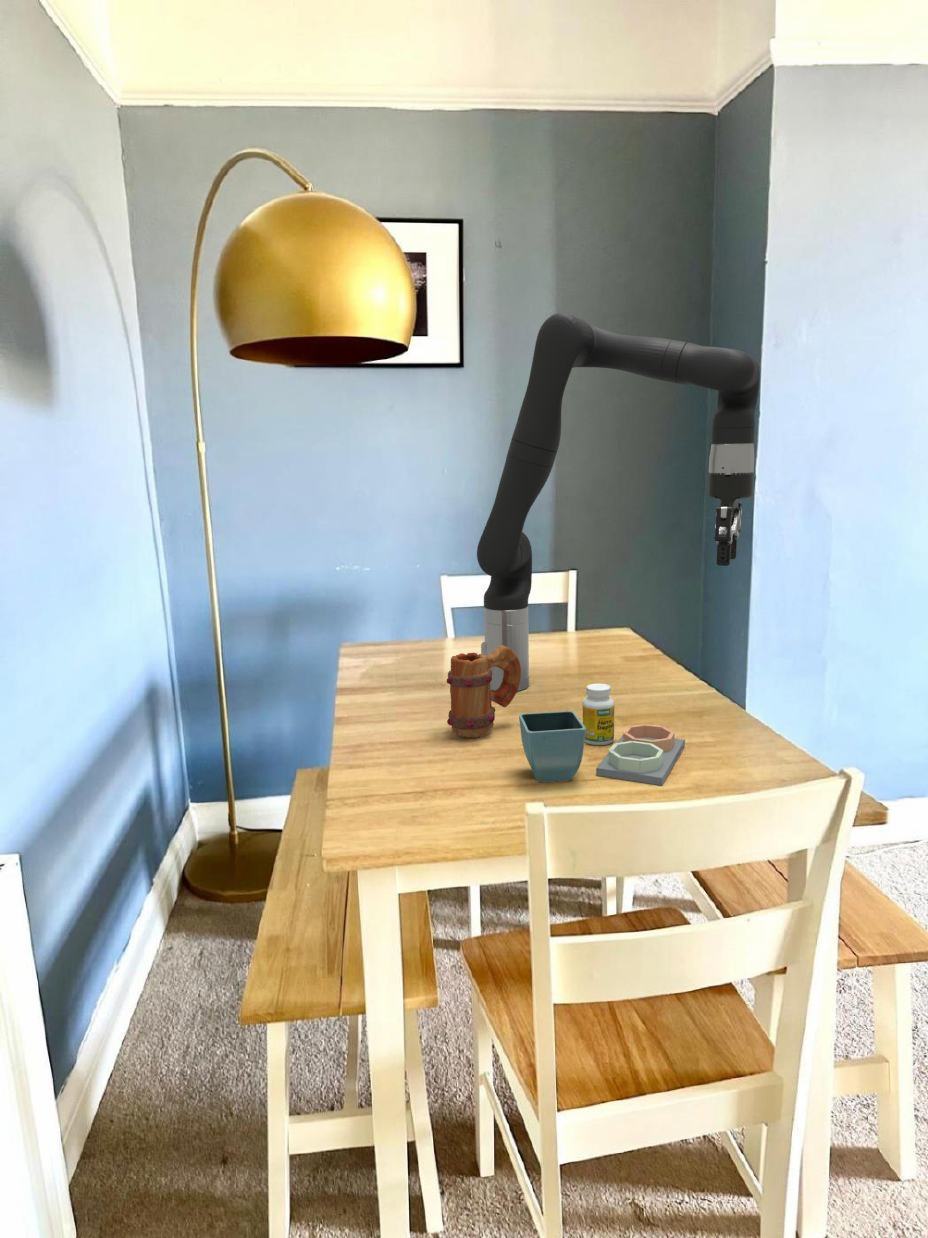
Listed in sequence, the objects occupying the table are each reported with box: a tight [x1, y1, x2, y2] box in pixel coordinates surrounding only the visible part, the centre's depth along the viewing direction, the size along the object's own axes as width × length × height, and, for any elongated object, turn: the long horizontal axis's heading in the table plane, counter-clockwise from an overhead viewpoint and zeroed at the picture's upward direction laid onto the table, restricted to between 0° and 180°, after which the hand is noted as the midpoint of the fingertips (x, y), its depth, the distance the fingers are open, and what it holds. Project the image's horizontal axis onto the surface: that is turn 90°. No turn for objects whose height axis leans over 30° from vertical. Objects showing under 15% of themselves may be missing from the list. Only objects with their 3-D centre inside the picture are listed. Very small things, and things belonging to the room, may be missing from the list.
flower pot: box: [518, 710, 586, 784], centre depth 120 cm, size 9×9×9 cm
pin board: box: [595, 723, 686, 786], centre depth 126 cm, size 10×17×3 cm, turn 154°
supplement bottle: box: [582, 683, 615, 746], centre depth 134 cm, size 5×5×10 cm
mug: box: [446, 645, 521, 739], centre depth 140 cm, size 15×8×15 cm, turn 118°
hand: (726, 562), depth 142 cm, fingers open, 8 cm apart
